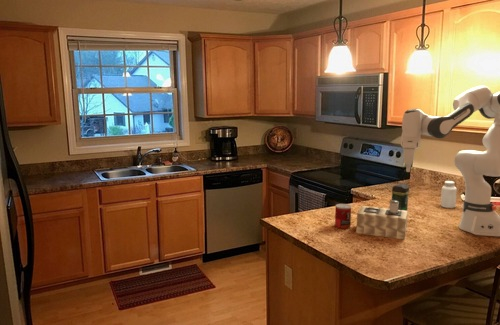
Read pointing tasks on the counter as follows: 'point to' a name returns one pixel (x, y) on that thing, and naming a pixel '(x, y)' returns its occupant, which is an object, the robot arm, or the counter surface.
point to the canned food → (343, 216)
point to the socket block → (381, 222)
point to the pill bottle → (448, 195)
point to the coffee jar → (401, 195)
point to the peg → (393, 207)
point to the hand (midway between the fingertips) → (408, 170)
